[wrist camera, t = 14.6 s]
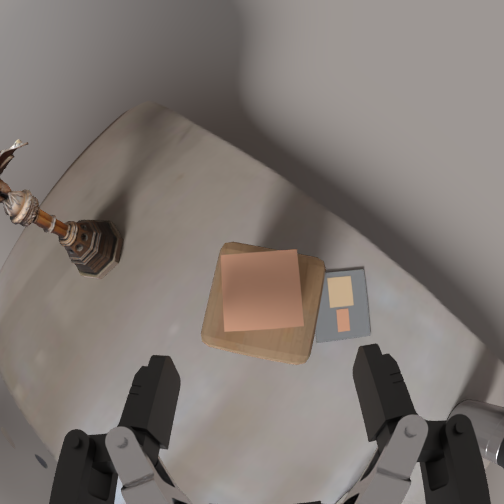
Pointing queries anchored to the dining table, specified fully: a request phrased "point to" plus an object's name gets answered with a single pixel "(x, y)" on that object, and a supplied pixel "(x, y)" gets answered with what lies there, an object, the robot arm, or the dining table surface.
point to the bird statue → (64, 228)
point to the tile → (343, 307)
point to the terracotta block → (261, 290)
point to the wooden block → (268, 340)
